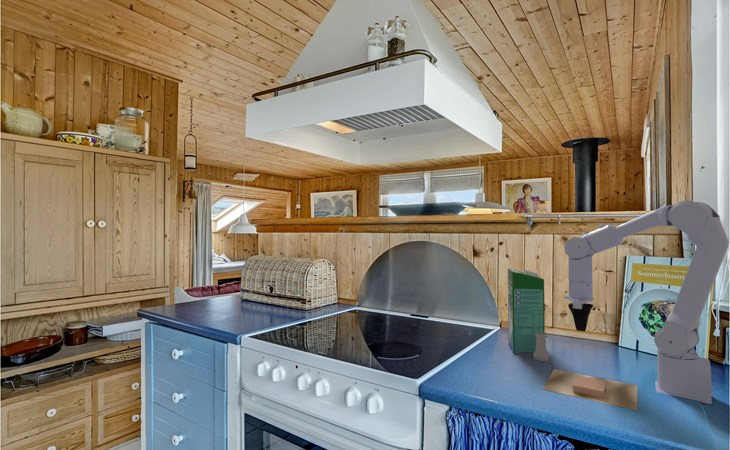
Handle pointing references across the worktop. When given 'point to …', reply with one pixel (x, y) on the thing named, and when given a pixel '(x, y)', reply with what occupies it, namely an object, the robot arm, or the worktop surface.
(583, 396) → the wooden board
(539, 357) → the rook chess piece
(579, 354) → the worktop surface
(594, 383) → the tile
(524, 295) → the milk carton
